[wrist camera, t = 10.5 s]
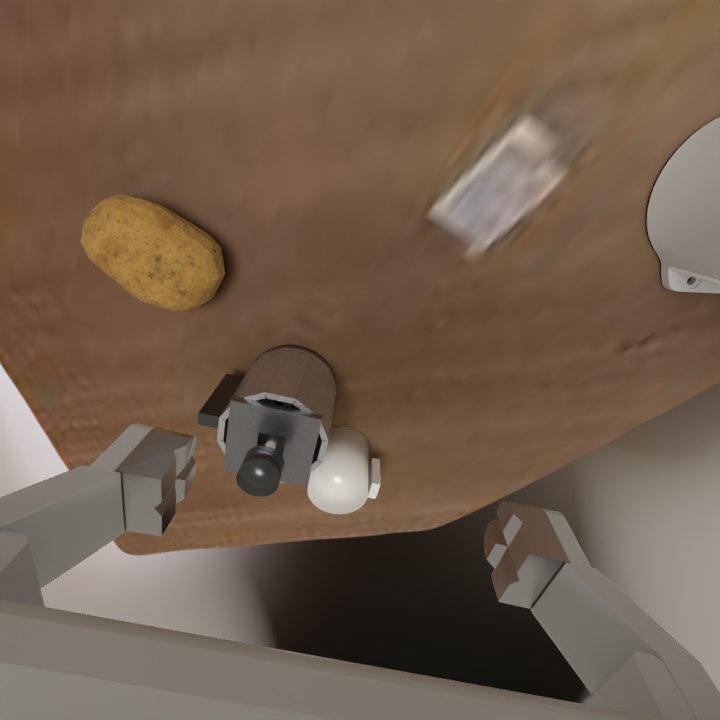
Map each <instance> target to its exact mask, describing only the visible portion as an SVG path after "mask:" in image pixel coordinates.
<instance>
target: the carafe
mask: <svg viewBox="0 0 720 720" xmlns="http://www.w3.org/2000/svg"><path fill="white" fill-rule="evenodd" d="M336 390H337V387H336V380H335V376H334V373H333V371H332V369H331V367H330V366H329V364H328V363H327V362H326V361H325V360H324V359H323V358H322V357H321V356H320V355H318V354H317V353H315V352H314V351H312V350H309V349H307V348H304V347H301V346H295V345H283V346H278V347H275V348H272V349H270V350H268V351H266V352H265V353H263V354H262V355H261V356H260V357H259V358H258V359H257V360H256V362H255V363H254V364H253V365H252V366H251V368H250V369H249V370H248V372H247V373H246V375H245V377H244V378H243V377H239V376H234V375H230V374H226V375H225V377H224V378H223V379H222V381H221V382H220V384H219V385H218V386H217V388H216V389H215V391H214V392H213V393H212V395H211V396H210V397H209V399H208V400H207V402H206V403H205V404H204V406H203V407H202V409H201V410H200V411H199V414H198V424H200V425H205V426H209V427H214V428H218V435H217V442H218V444H219V445H220V447H221V449H222V451H223V452H224V454H225V457H224V467H223V470H226V471H231V472H236V473H238V471H239V469H240V467H241V464H242V462H243V460H244V458H245V455H246V453H247V452H248V451H249V450H250V449H251V448H253V447H256V446H265V444H266V442H267V439H268V437H269V435H273V436H278V437H279V439H278V442H277V445H276V448H275V449H276V450H277V451H278V452H280V453H281V455H282V456H283V458H284V461H285V465H284V469H283V472H282V476H281V479H280V482H279V483H282V482H287V483H292V484H297V485H302V486H306V485H307V481H308V476H309V474H310V473H311V472H312V471H313V470H315V469H316V468H317V467H318V466H319V465H321V464H322V463H323V460H324V456H325V452H326V448H327V445H328V441H329V434H330V428H331V422H332V415H333V409H334V403H335V397H336ZM264 398H268V399H272V400H277V401H282V402H286V403H291V404H294V405H295V406H296V407H298V408H299V409H300V410H298V409H293V408H288V407H284V406H279V405H274V404H270V403H265V402H260V401H259V400H260V399H264Z"/></svg>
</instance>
